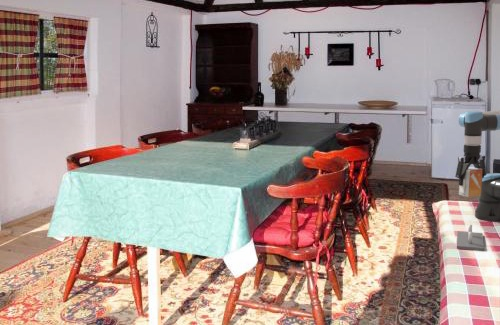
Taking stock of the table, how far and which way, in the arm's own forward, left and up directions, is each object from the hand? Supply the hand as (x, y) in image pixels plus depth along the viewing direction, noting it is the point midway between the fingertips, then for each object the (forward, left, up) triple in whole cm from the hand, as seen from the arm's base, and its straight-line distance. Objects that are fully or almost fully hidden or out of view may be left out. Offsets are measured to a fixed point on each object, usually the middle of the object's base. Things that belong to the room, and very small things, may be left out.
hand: (470, 191), depth 262 cm
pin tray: (+12, +11, -20) cm, 26 cm away
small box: (0, 0, -2) cm, 2 cm away
